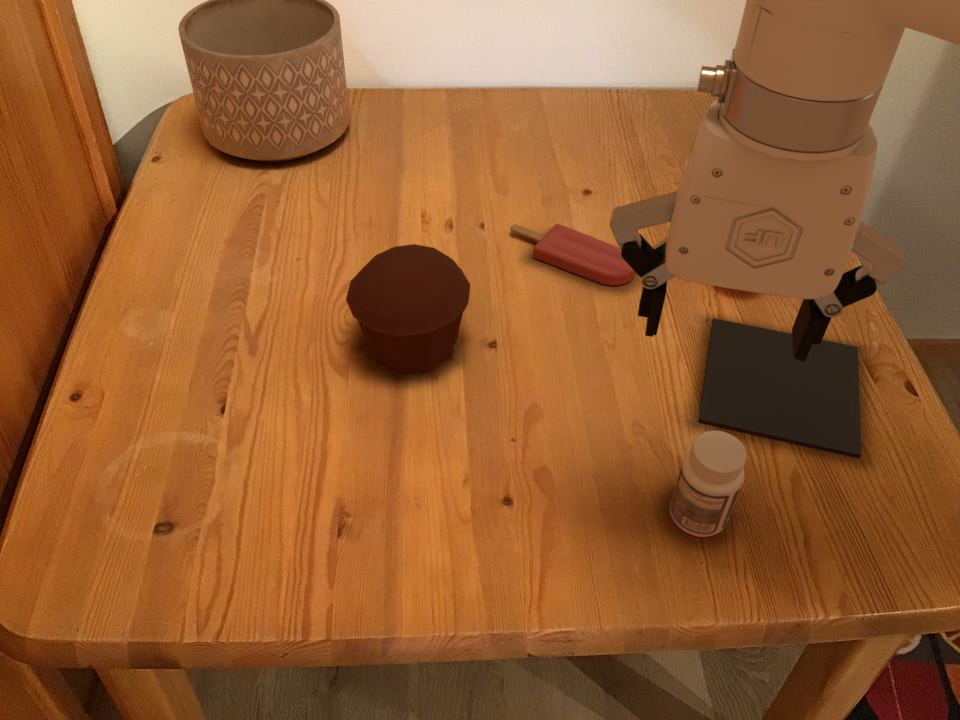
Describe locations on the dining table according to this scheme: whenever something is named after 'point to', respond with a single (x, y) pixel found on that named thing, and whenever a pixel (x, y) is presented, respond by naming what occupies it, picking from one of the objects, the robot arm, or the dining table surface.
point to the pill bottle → (708, 484)
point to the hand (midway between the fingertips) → (723, 334)
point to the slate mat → (782, 388)
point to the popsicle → (579, 254)
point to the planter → (267, 76)
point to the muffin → (409, 307)
